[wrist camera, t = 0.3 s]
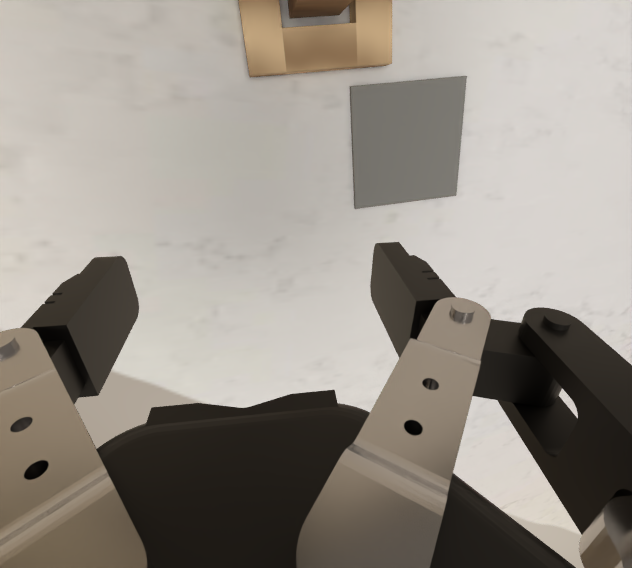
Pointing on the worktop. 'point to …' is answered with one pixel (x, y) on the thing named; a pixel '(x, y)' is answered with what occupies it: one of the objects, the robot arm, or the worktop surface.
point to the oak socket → (316, 39)
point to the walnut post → (316, 7)
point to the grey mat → (406, 140)
